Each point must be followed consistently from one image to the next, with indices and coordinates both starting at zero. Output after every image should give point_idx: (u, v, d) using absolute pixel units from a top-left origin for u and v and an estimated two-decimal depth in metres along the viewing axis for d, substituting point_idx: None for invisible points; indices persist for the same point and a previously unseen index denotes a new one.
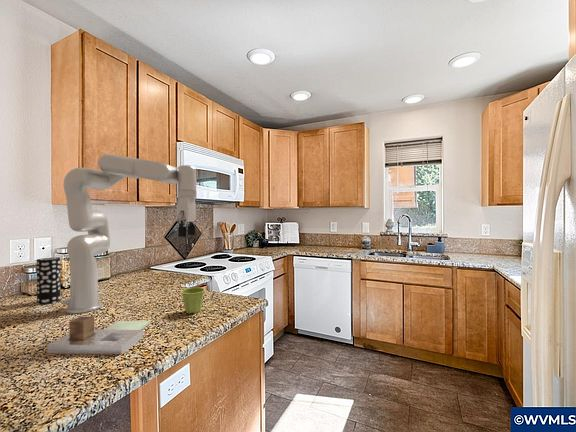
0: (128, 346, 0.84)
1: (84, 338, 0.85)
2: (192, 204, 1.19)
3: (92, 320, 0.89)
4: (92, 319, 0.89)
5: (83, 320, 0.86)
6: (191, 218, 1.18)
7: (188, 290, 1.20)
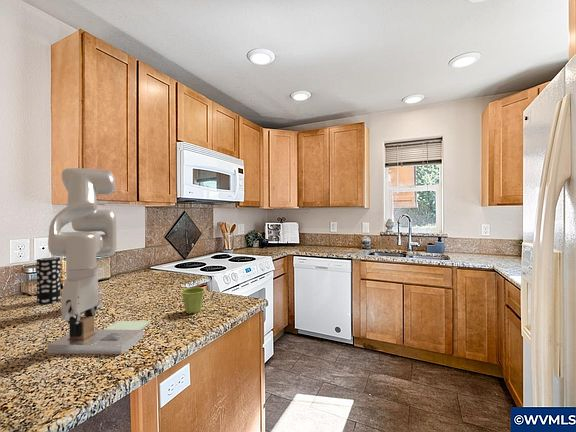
0: (128, 346, 0.84)
1: (84, 338, 0.85)
2: (88, 286, 0.87)
3: (92, 320, 0.89)
4: (92, 319, 0.89)
5: (83, 320, 0.86)
6: (86, 306, 0.86)
7: (188, 290, 1.20)
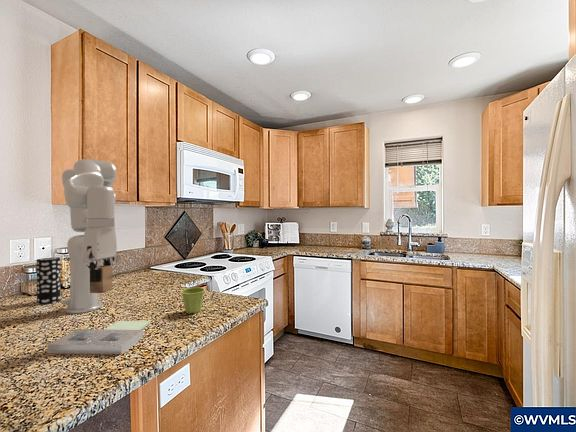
0: (128, 346, 0.84)
1: (103, 284, 0.91)
2: (107, 236, 0.92)
3: (110, 269, 0.94)
4: (110, 268, 0.94)
5: (102, 267, 0.91)
6: (105, 254, 0.91)
7: (188, 290, 1.20)
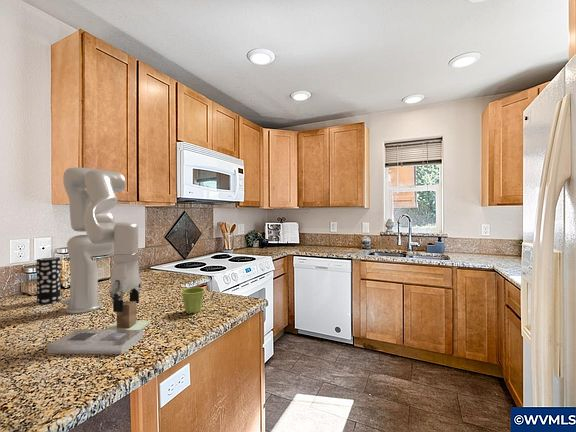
0: (128, 346, 0.84)
1: (129, 319, 0.98)
2: (132, 269, 0.99)
3: (135, 304, 1.02)
4: (135, 303, 1.01)
5: (128, 304, 0.99)
6: (131, 286, 0.99)
7: (188, 290, 1.20)
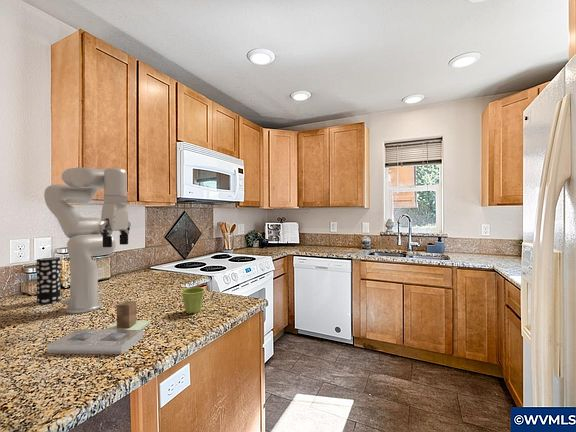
0: (128, 346, 0.84)
1: (129, 319, 0.98)
2: (121, 211, 1.08)
3: (135, 304, 1.02)
4: (135, 303, 1.01)
5: (128, 304, 0.99)
6: (119, 226, 1.07)
7: (188, 290, 1.20)
